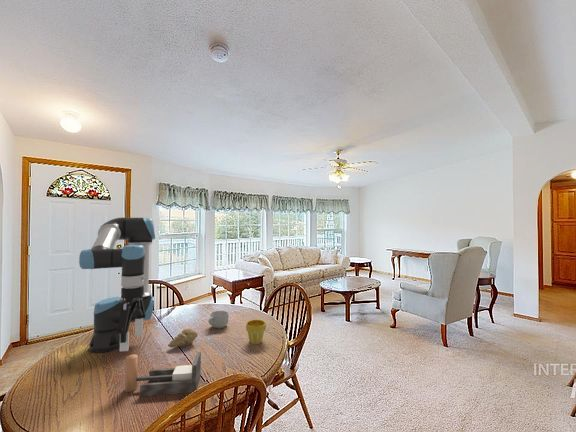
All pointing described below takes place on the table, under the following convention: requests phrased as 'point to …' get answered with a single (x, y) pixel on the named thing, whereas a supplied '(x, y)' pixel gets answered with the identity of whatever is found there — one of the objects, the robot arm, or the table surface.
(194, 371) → the shelf lane
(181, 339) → the seashell
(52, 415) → the table surface
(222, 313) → the teacup
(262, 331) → the plant pot
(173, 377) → the push rod with block
